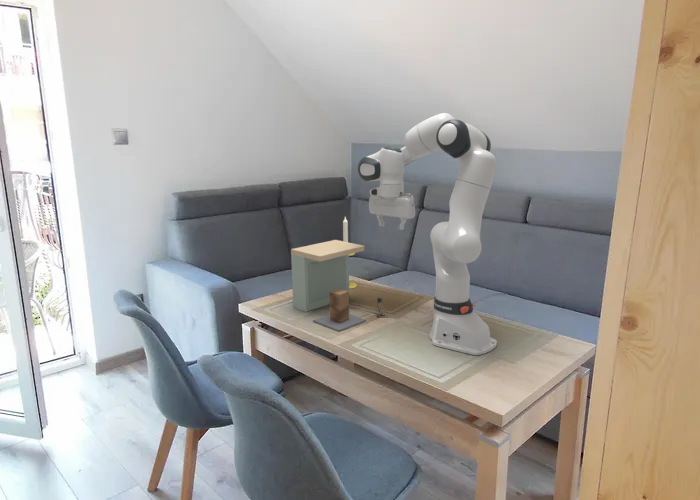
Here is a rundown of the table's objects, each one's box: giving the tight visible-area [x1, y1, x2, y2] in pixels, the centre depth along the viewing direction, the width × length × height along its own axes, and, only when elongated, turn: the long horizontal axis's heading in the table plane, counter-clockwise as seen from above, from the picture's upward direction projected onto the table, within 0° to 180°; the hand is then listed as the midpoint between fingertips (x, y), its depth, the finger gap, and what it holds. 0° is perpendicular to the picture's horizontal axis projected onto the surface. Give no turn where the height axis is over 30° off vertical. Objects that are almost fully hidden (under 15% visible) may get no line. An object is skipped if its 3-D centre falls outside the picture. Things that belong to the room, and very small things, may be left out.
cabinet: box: [290, 239, 365, 313], centre depth 201 cm, size 17×24×24 cm
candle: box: [342, 216, 358, 290], centre depth 225 cm, size 10×10×32 cm
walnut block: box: [329, 289, 350, 324], centre depth 184 cm, size 5×5×11 cm
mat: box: [312, 313, 367, 333], centre depth 185 cm, size 14×14×1 cm
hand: (391, 227), depth 189 cm, fingers open, 8 cm apart
